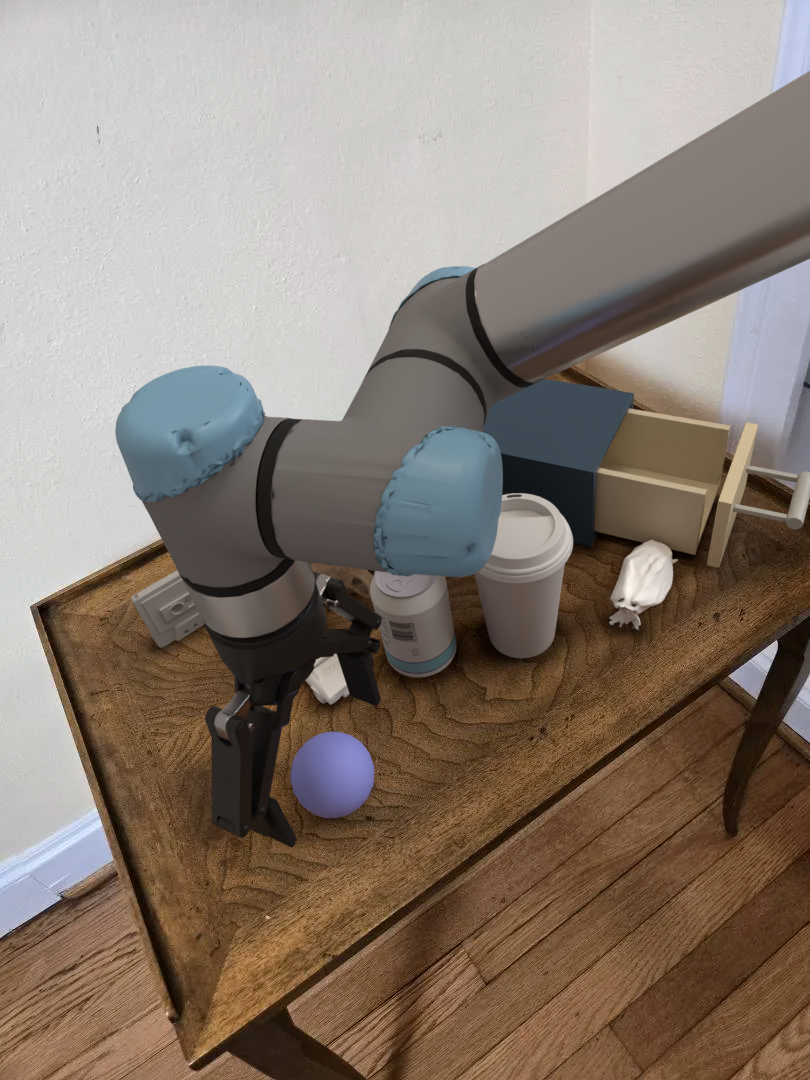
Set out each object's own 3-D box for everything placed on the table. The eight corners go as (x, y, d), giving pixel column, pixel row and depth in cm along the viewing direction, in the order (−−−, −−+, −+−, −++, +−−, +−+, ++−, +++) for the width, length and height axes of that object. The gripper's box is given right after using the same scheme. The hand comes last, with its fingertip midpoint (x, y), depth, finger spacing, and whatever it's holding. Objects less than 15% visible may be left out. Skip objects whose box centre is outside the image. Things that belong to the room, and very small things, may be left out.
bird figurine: (664, 642, 77) (682, 553, 82) (652, 609, 72) (672, 516, 76) (613, 635, 80) (633, 550, 84) (598, 603, 75) (620, 514, 79)
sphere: (397, 791, 69) (384, 750, 64) (335, 850, 66) (317, 811, 61) (345, 743, 73) (329, 700, 68) (285, 796, 70) (264, 755, 65)
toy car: (308, 616, 84) (301, 596, 82) (379, 683, 77) (373, 662, 75) (265, 647, 82) (257, 626, 80) (334, 718, 75) (326, 698, 73)
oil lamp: (272, 578, 89) (260, 547, 85) (320, 539, 92) (311, 507, 89) (353, 634, 82) (344, 603, 78) (403, 589, 85) (396, 557, 82)
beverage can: (471, 649, 78) (460, 566, 70) (424, 696, 75) (406, 615, 67) (420, 615, 82) (404, 533, 74) (373, 659, 79) (350, 578, 71)
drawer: (807, 501, 84) (826, 435, 78) (786, 584, 77) (805, 519, 71) (596, 459, 94) (598, 397, 88) (560, 529, 87) (559, 468, 81)
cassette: (161, 652, 84) (134, 605, 78) (154, 641, 85) (127, 594, 80) (260, 592, 88) (240, 543, 82) (252, 582, 89) (231, 534, 84)
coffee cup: (582, 607, 80) (587, 498, 69) (553, 683, 74) (553, 578, 64) (492, 584, 84) (483, 478, 73) (458, 656, 78) (443, 551, 67)
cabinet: (628, 468, 93) (634, 392, 86) (591, 547, 85) (594, 472, 78) (489, 440, 101) (483, 368, 93) (443, 511, 93) (432, 439, 85)
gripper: (311, 463, 60) (360, 636, 75) (80, 736, 45) (198, 884, 60) (399, 484, 57) (432, 661, 72) (182, 785, 42) (280, 928, 57)
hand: (325, 763), depth 66 cm, fingers open, 13 cm apart
